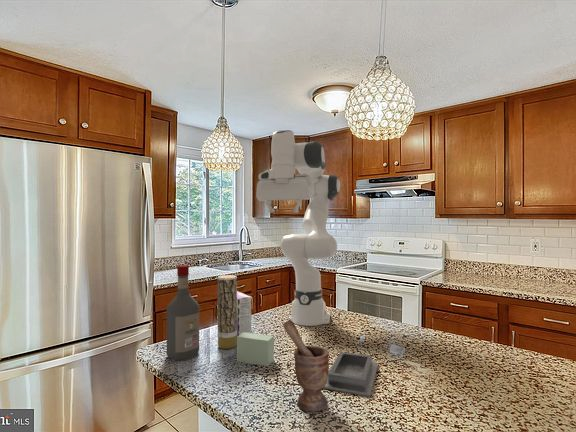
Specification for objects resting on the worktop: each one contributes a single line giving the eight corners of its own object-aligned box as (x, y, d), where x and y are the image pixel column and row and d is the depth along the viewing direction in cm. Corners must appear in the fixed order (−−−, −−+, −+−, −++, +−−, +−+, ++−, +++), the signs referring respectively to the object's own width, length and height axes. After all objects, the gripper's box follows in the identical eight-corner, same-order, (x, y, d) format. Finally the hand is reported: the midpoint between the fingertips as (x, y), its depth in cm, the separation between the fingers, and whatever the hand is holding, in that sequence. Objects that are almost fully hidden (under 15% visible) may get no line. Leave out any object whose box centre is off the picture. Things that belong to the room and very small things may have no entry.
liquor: (202, 354, 115) (202, 265, 115) (178, 363, 108) (178, 268, 108) (186, 347, 121) (186, 263, 121) (163, 355, 114) (163, 266, 114)
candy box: (223, 332, 137) (223, 291, 138) (236, 329, 141) (236, 289, 141) (237, 342, 126) (237, 298, 126) (252, 339, 129) (252, 296, 129)
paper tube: (232, 350, 118) (232, 278, 118) (214, 349, 120) (214, 278, 120) (239, 343, 125) (239, 275, 125) (222, 342, 126) (222, 274, 127)
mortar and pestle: (280, 412, 80) (280, 327, 81) (284, 393, 89) (283, 317, 89) (329, 414, 79) (329, 329, 80) (328, 395, 88) (328, 318, 88)
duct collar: (336, 359, 111) (336, 349, 111) (378, 365, 106) (377, 354, 106) (321, 388, 92) (321, 376, 92) (370, 396, 87) (370, 383, 87)
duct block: (243, 356, 114) (243, 332, 114) (273, 360, 110) (273, 336, 110) (236, 361, 109) (236, 336, 109) (268, 366, 106) (268, 340, 106)
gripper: (313, 174, 122) (313, 212, 122) (261, 176, 129) (261, 213, 129) (308, 172, 117) (308, 212, 116) (254, 174, 124) (254, 212, 123)
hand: (283, 212), depth 123 cm, fingers open, 8 cm apart
